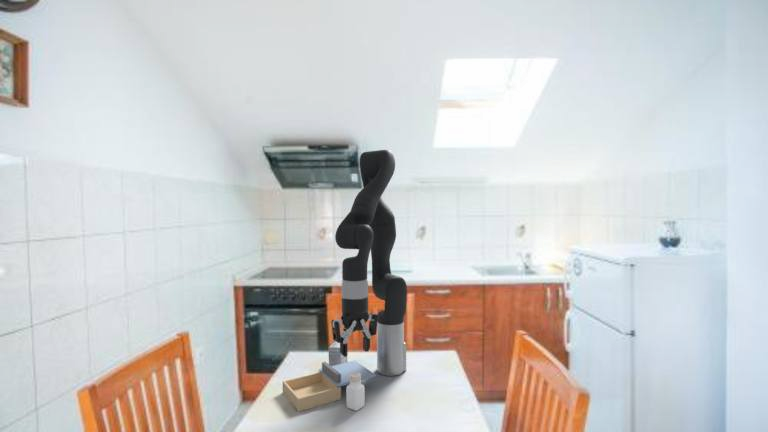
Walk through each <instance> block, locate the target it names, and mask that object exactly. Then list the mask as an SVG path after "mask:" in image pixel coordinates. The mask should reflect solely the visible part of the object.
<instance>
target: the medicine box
mask: <svg viewBox="0 0 768 432" xmlns="http://www.w3.org/2000/svg"><path fill="white" fill-rule="evenodd" d="M347 362H348V355H347V356H346V357H344V356H343V355H342V354H341V353H340V343H337V342H336V341H334V342H332V344H331V345H330V346H329V347H328V364H329V365H330V366H335V365H339V364H343V363H347Z"/></svg>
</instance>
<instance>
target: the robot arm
mask: <svg viewBox="0 0 768 432" xmlns="http://www.w3.org/2000/svg"><path fill="white" fill-rule="evenodd" d="M394 156H395V155H394V153H393V152H392V151H391V150H390V149H378V150H371V151H370V150H369V151H364V152H362V153H361V154H360V157H359V172H360V177H361V182H362V187H363V188H362V189H361V190H360V191H359V192H358V193H357V194H356V197H355V198H354V200H353V203H352V206H351V209H350V212H349V213H348V214H347V215H346V216H345V217H344V219H343V220H342V221H341V222H340V224H339V225H338V227H337V229H336V232H335V234H334V235H335V236H334V238H335V239H334V240H335V242H336V245H337V246H338V247H339V248H341V249H344V250H358V252H357V254H356V255H355V256H349V257H346V258H344V259H343V260H342V265H341V268H342V269H341V271H342V272H341V274H342V276H341V277H342V278H341V279H342V280H341V281H342V282H341V313H342V314H341V317H340V318H339V319H332V320H331V321H330V322H331V330H332V331H331V332H332V339H333V341H334V342H335V341H336V342H337V343H340V353H341V354H342V355H343V356H344V357H346V356H347V357H348V340H349V337H351V336H352V333H354V332H356V331H358V332H361V333H362V350H363V351H364V352H369V351H370V349H371V337H373V336H375V335H376V371H377V372H378V374H380V375H384V376H389V377H393V376H398V375H401V374H403V373H404V372H405V371H407V343H406V342H405V328H404V327H405V315H406V312H407V303H408V302H407V299H408V287H407V282H406V280H405V279H404V278H403V277H402V276H400V275H395V274H392V272H391V271H392V269H391V264H390V263H391V262H390V260H391V259H390V258H391V255H392V254H391V253H392V250H393V248H394V245H395V243H396V238H397V230H396V229H397V228H396V227H397V226H396V219H395V218H396V217H395V216H394V214H393V211H392V210H391V209H390V207H389V205H388V204H387V203H386V202H385V200H384V199H383V197H382V195H383V194H384V192H385V190H386V188H387V187H388V185H389V183H390V181H391V179H392V178H393V175H394V174H395V169H396V159H395V157H394ZM370 256H371V285H372V286H371V287H372V292H373V294H374V296H375V297H376V298H377V299H379V300H381V301H384V309H383V310H380V311H378V312H377V314H376V313H374V312H370V313H369V312H368V311H369V282H368V265H369V264H368V263H369V258H370ZM368 321H369V323H368V326H367V322H368ZM342 325H343V327H342ZM341 328H342V329H341Z"/></svg>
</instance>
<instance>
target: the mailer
mask: <svg viewBox="0 0 768 432" xmlns="http://www.w3.org/2000/svg"><path fill="white" fill-rule="evenodd" d="M282 394H283V395H284V396H285V397H286V398H287V400H288V401H289V402H290V403H291V405H292V406H293V407H294V408H295V409H296V411H298V412H302V411H305V410H309V409H312V408H317V407H319V406H322V405H326V404H328V403H333V402H336V401H338V400H341V399H342V386H340V387H337V386H335V385H334V384H333V383H332V382H331V381H330V380H328V379H327V378H326V377H325V376H324V375H323V374H322V373H320V372H319V371H318V372H313V373H311V374H310V373H309V374H306V375H302V376H298V377H294V378H290V379H287V380H283V381H282Z"/></svg>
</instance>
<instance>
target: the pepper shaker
mask: <svg viewBox="0 0 768 432" xmlns="http://www.w3.org/2000/svg"><path fill="white" fill-rule="evenodd" d="M361 382H362V380H361V373H359V372H353V373H351V374H350V384H347V385H346V407H347V408H348V409H351V410H353V411H359V410H361V408H364V406H365V403H366V402H365V397H366V396H365V395H366V393H365V385H364V384H362V383H361Z"/></svg>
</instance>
